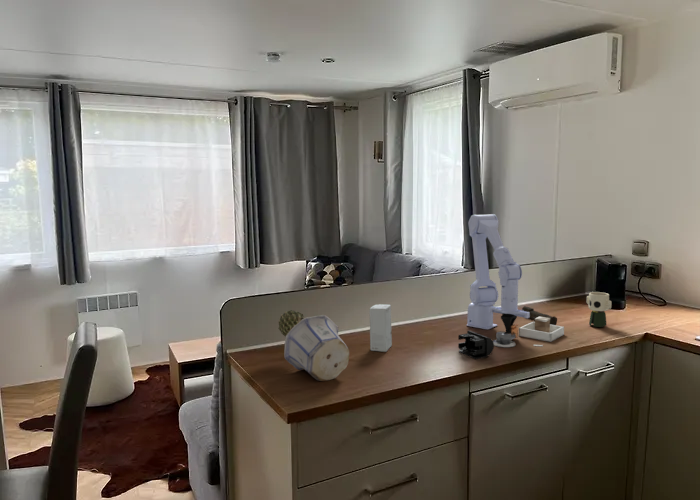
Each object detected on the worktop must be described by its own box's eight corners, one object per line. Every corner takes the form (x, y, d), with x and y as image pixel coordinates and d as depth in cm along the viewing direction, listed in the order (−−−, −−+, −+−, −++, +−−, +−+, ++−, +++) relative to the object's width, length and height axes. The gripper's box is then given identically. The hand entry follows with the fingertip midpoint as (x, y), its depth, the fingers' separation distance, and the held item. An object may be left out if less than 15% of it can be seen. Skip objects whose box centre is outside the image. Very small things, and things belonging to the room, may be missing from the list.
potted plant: (361, 329, 154) (312, 289, 177) (305, 342, 145) (262, 298, 168) (356, 381, 160) (309, 335, 183) (302, 397, 151) (261, 347, 174)
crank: (506, 344, 183) (507, 331, 183) (493, 342, 186) (493, 329, 186) (523, 337, 192) (523, 324, 192) (510, 334, 196) (510, 322, 195)
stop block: (534, 334, 196) (534, 318, 196) (538, 332, 200) (539, 316, 199) (545, 336, 194) (545, 320, 193) (549, 334, 197) (550, 318, 196)
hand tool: (557, 326, 210) (558, 314, 210) (549, 327, 209) (549, 315, 209) (527, 315, 228) (527, 304, 228) (519, 316, 227) (519, 305, 226)
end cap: (494, 356, 173) (494, 336, 173) (476, 360, 170) (476, 339, 170) (474, 348, 182) (474, 329, 182) (457, 351, 179) (457, 332, 178)
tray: (518, 335, 196) (518, 327, 196) (532, 329, 205) (532, 321, 205) (550, 341, 188) (551, 333, 188) (563, 334, 197) (564, 326, 197)
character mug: (579, 324, 211) (580, 292, 210) (592, 322, 215) (593, 290, 213) (603, 330, 202) (605, 297, 200) (616, 328, 205) (617, 295, 203)
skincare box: (386, 352, 179) (386, 309, 178) (369, 351, 181) (368, 308, 179) (392, 345, 187) (392, 303, 185) (375, 344, 189) (375, 302, 187)
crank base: (492, 346, 184) (492, 345, 184) (491, 340, 191) (491, 338, 191) (544, 349, 180) (544, 347, 180) (541, 342, 188) (541, 341, 188)
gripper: (485, 296, 194) (485, 333, 196) (523, 302, 184) (522, 340, 186) (495, 293, 199) (494, 329, 201) (532, 298, 189) (531, 336, 191)
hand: (508, 334), depth 194 cm, fingers closed, pressing on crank
